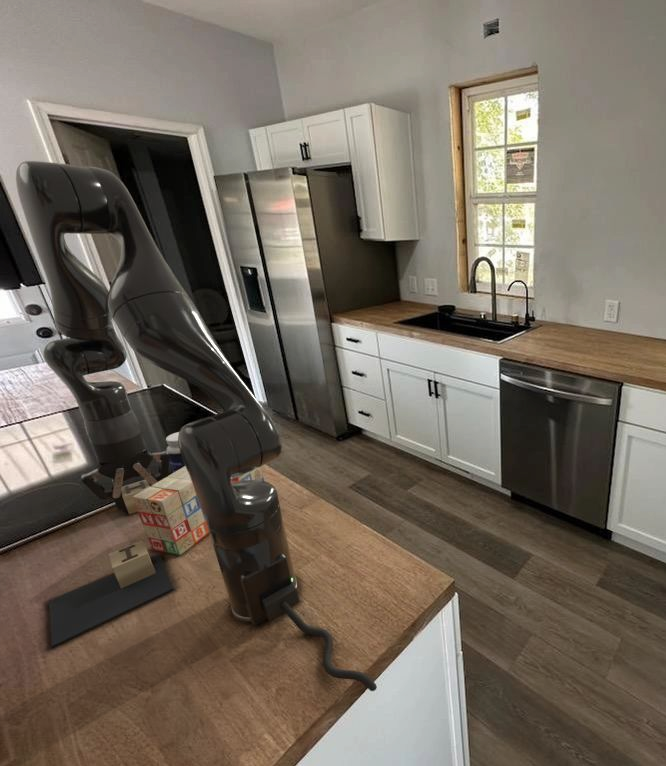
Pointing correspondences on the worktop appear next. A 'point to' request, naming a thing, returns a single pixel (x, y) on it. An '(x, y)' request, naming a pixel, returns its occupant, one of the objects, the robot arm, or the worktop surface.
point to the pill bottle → (174, 452)
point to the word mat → (103, 602)
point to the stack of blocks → (176, 511)
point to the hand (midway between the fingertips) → (141, 503)
